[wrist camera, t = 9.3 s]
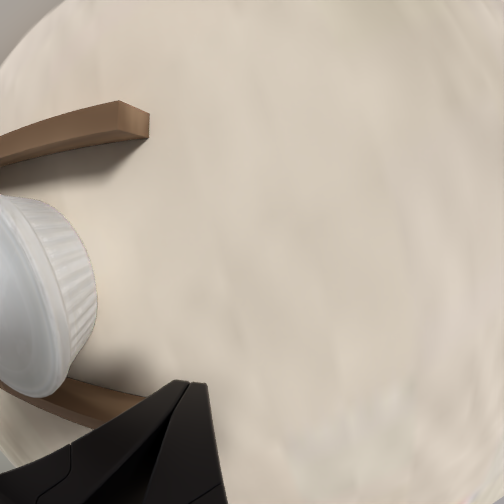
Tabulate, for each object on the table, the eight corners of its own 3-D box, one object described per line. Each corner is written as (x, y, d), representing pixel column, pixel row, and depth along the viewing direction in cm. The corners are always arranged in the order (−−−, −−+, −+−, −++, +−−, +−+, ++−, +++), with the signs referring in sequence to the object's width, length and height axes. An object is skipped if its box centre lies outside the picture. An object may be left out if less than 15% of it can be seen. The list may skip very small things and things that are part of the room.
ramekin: (8, 163, 14) (-52, 167, 9) (137, 225, 14) (72, 249, 9) (-4, 304, 17) (-49, 330, 11) (102, 381, 17) (62, 430, 12)
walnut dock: (174, 415, 17) (160, 447, 14) (17, 369, 18) (-3, 386, 15) (149, 113, 12) (118, 100, 10) (-21, 157, 14) (-50, 159, 11)
